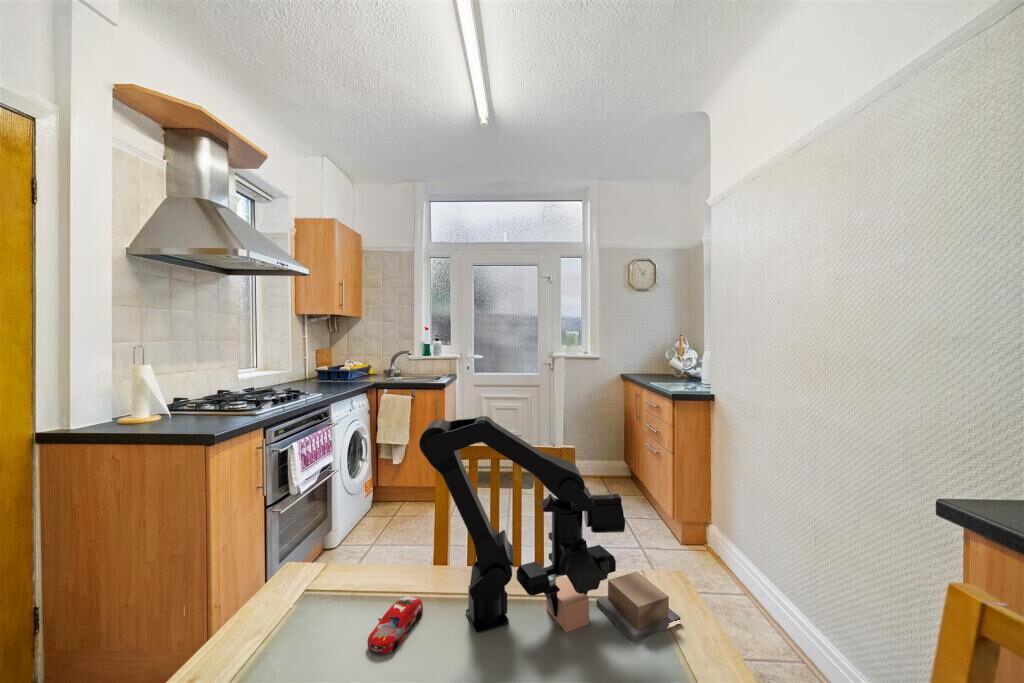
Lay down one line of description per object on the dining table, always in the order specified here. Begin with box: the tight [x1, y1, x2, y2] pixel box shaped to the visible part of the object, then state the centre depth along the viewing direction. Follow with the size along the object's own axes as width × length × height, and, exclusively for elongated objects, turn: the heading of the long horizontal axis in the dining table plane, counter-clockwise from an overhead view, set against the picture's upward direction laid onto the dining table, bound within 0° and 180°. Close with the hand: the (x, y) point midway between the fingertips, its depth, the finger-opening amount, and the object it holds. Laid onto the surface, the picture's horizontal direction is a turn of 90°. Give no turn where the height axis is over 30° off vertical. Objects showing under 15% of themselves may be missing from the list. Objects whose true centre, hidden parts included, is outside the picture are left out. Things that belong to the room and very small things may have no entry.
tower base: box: [596, 570, 682, 642], centre depth 87 cm, size 11×11×5 cm
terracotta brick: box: [546, 577, 590, 633], centre depth 87 cm, size 5×7×5 cm
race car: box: [367, 595, 424, 655], centre depth 83 cm, size 13×5×4 cm, turn 160°
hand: (567, 611), depth 87 cm, fingers closed on terracotta brick, 5 cm apart
